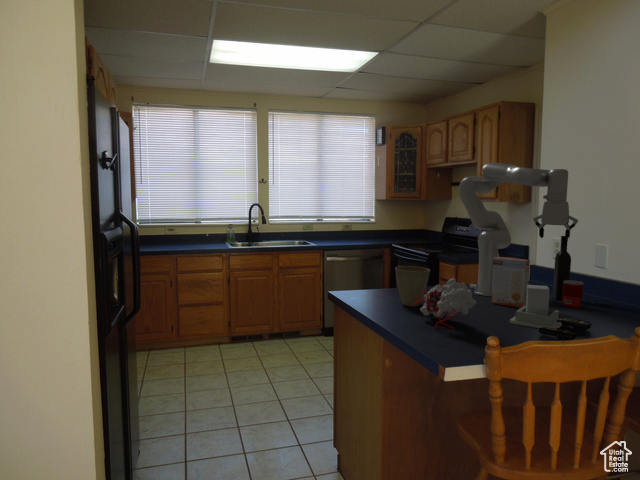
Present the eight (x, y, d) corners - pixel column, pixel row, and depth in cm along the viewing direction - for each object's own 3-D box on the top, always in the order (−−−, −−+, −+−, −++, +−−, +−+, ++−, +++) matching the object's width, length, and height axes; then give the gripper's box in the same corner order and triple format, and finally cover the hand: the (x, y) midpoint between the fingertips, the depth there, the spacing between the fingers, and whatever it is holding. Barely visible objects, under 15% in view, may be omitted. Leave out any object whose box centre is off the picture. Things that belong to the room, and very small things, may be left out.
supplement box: (545, 318, 177) (548, 285, 175) (547, 322, 170) (550, 289, 169) (525, 315, 179) (526, 284, 178) (525, 320, 172) (528, 287, 171)
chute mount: (509, 323, 174) (510, 310, 173) (519, 315, 185) (520, 304, 184) (555, 331, 164) (556, 318, 164) (563, 323, 175) (564, 311, 175)
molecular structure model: (416, 345, 169) (465, 320, 151) (395, 299, 175) (440, 270, 157) (450, 334, 181) (499, 309, 163) (429, 291, 187) (474, 263, 169)
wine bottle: (564, 297, 220) (568, 235, 218) (569, 300, 215) (573, 236, 212) (551, 297, 221) (555, 235, 218) (556, 300, 215) (560, 236, 213)
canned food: (584, 308, 199) (586, 283, 198) (564, 307, 201) (566, 282, 199) (578, 304, 206) (580, 280, 205) (559, 303, 208) (560, 279, 207)
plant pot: (401, 309, 192) (402, 271, 191) (389, 301, 207) (390, 266, 205) (434, 308, 195) (436, 271, 194) (420, 300, 210) (421, 265, 208)
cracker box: (527, 306, 201) (530, 259, 199) (522, 309, 197) (525, 260, 195) (496, 301, 211) (498, 256, 209) (490, 303, 206) (493, 257, 204)
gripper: (532, 198, 198) (530, 237, 199) (578, 198, 187) (575, 240, 189) (537, 198, 204) (534, 236, 205) (581, 198, 193) (578, 239, 195)
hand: (554, 238), depth 197 cm, fingers open, 9 cm apart
